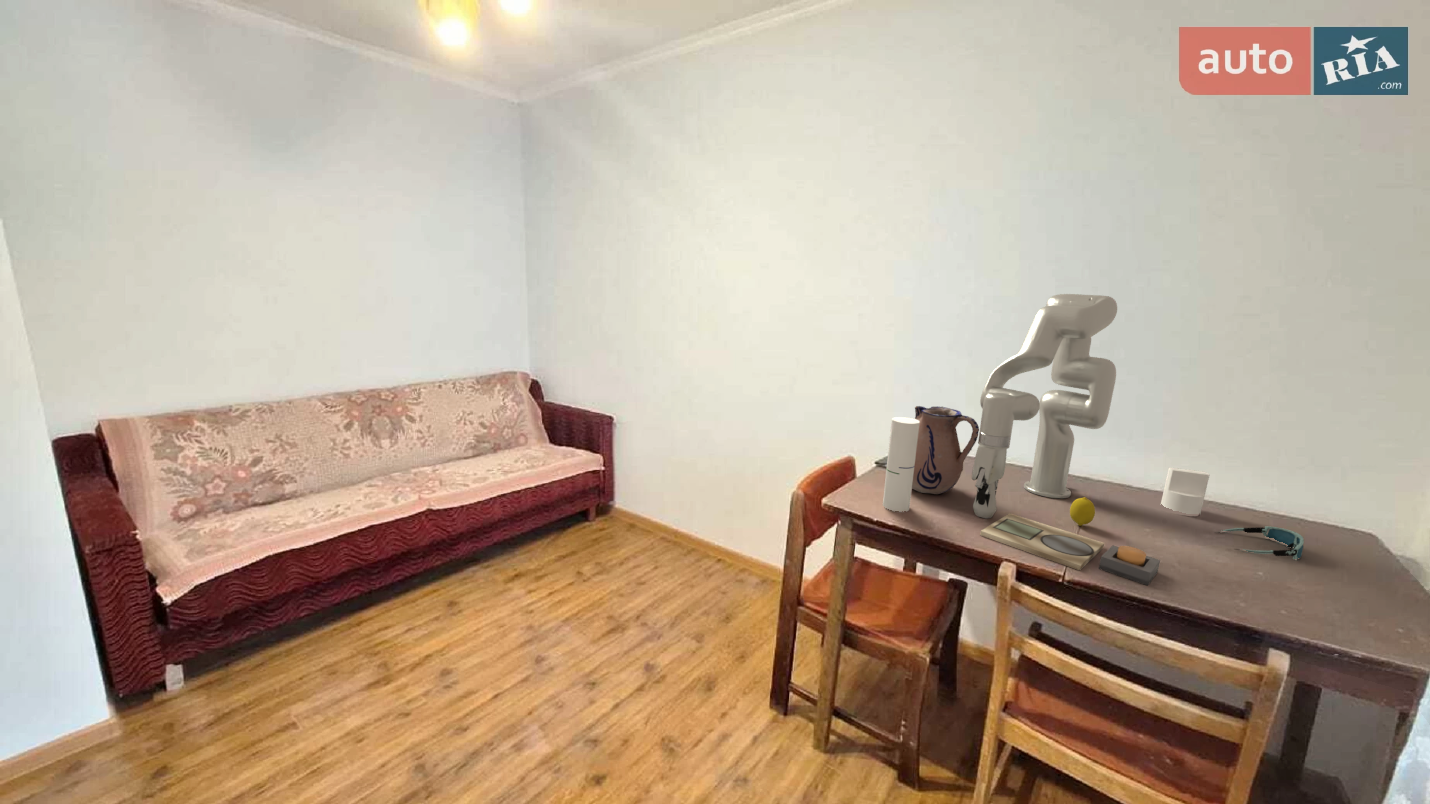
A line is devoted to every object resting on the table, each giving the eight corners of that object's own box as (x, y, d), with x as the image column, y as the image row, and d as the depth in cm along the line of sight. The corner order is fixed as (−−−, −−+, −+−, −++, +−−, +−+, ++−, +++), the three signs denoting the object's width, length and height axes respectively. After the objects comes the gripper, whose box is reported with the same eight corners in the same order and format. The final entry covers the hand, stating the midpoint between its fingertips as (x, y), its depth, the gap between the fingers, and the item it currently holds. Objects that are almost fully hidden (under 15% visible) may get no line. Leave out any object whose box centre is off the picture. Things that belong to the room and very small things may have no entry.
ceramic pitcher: (907, 475, 184) (915, 400, 178) (976, 491, 172) (988, 411, 166) (889, 490, 170) (897, 409, 164) (963, 508, 158) (975, 422, 152)
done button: (1119, 553, 129) (1121, 543, 128) (1146, 562, 125) (1148, 552, 125) (1113, 560, 125) (1115, 550, 125) (1140, 569, 122) (1143, 558, 121)
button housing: (1110, 556, 132) (1112, 545, 131) (1157, 572, 125) (1160, 560, 125) (1098, 568, 126) (1101, 556, 125) (1147, 585, 120) (1150, 572, 119)
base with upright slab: (1166, 513, 160) (1175, 473, 157) (1155, 502, 168) (1164, 464, 166) (1205, 519, 157) (1215, 478, 154) (1192, 507, 165) (1202, 468, 162)
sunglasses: (1317, 566, 132) (1319, 546, 131) (1236, 561, 137) (1238, 542, 136) (1282, 541, 145) (1283, 522, 144) (1209, 537, 150) (1211, 519, 149)
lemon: (1090, 523, 150) (1095, 495, 149) (1093, 531, 145) (1099, 502, 144) (1066, 519, 153) (1071, 491, 151) (1068, 527, 148) (1074, 498, 146)
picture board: (1009, 517, 153) (1010, 512, 152) (1103, 547, 137) (1104, 542, 136) (980, 535, 141) (980, 530, 141) (1079, 570, 125) (1080, 565, 125)
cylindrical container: (910, 513, 153) (921, 424, 148) (883, 510, 154) (893, 422, 149) (907, 503, 160) (917, 418, 154) (881, 500, 161) (890, 416, 156)
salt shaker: (993, 513, 155) (1000, 468, 152) (996, 521, 150) (1003, 475, 147) (970, 509, 157) (977, 465, 154) (972, 517, 152) (979, 471, 149)
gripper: (992, 431, 157) (984, 493, 161) (966, 441, 146) (957, 507, 150) (1021, 437, 151) (1011, 501, 155) (995, 448, 140) (985, 517, 145)
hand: (984, 504), depth 153 cm, fingers closed on salt shaker, 3 cm apart
